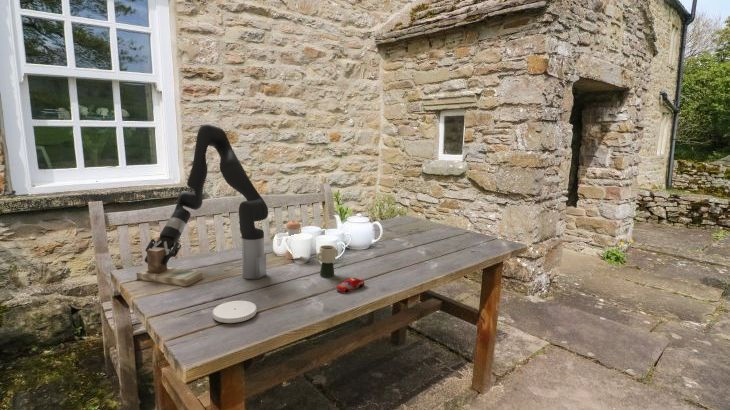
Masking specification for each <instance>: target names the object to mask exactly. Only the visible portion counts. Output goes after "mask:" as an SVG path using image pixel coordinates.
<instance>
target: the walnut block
mask: <svg viewBox="0 0 730 410" xmlns="http://www.w3.org/2000/svg"><path fill="white" fill-rule="evenodd" d="M165 255H166V251H165V248H160V247H155V248H152V249H149V250H147V252H146V256H147V261H148V263H147V268H148V273H155V274H160V273H162V272H164V271H167V267H168V263H167V264H166V265H162V264H161V261H162V259H163V258H164V256H165Z"/></svg>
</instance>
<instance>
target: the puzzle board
mask: <svg viewBox="0 0 730 410" xmlns="http://www.w3.org/2000/svg"><path fill="white" fill-rule="evenodd" d="M135 275H136V280H139V281H146V282H147V281H148V282H155V283H161V284H168V285H169V284H170V285H175V286H180V287H181V286H183V287H187V286H189V285H192V284H194V283H196V282H198V281H200V280H202V279H203V278H204V272H203V271H199V270H192V269H185V268H177V267H168V266H167V271H164V272H162V273H160V274H155V273H148V267H147V268H144V269H142V270H140V271H138V272H136V274H135Z"/></svg>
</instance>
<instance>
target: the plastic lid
mask: <svg viewBox="0 0 730 410" xmlns="http://www.w3.org/2000/svg"><path fill="white" fill-rule="evenodd" d="M256 314H257V305H256V303H254V302H251V301H248V300H233V301H226V302H223V303H221V304H218V305H217V306H216V307H215V308H213V310H212V318H213V319H214V320H215V321H217V322H220V323H223V324H224V323H225V324H226V323H227V324H234V323H240V322H245V321H247V320H250V319H251V318H253V317H255V315H256Z"/></svg>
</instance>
